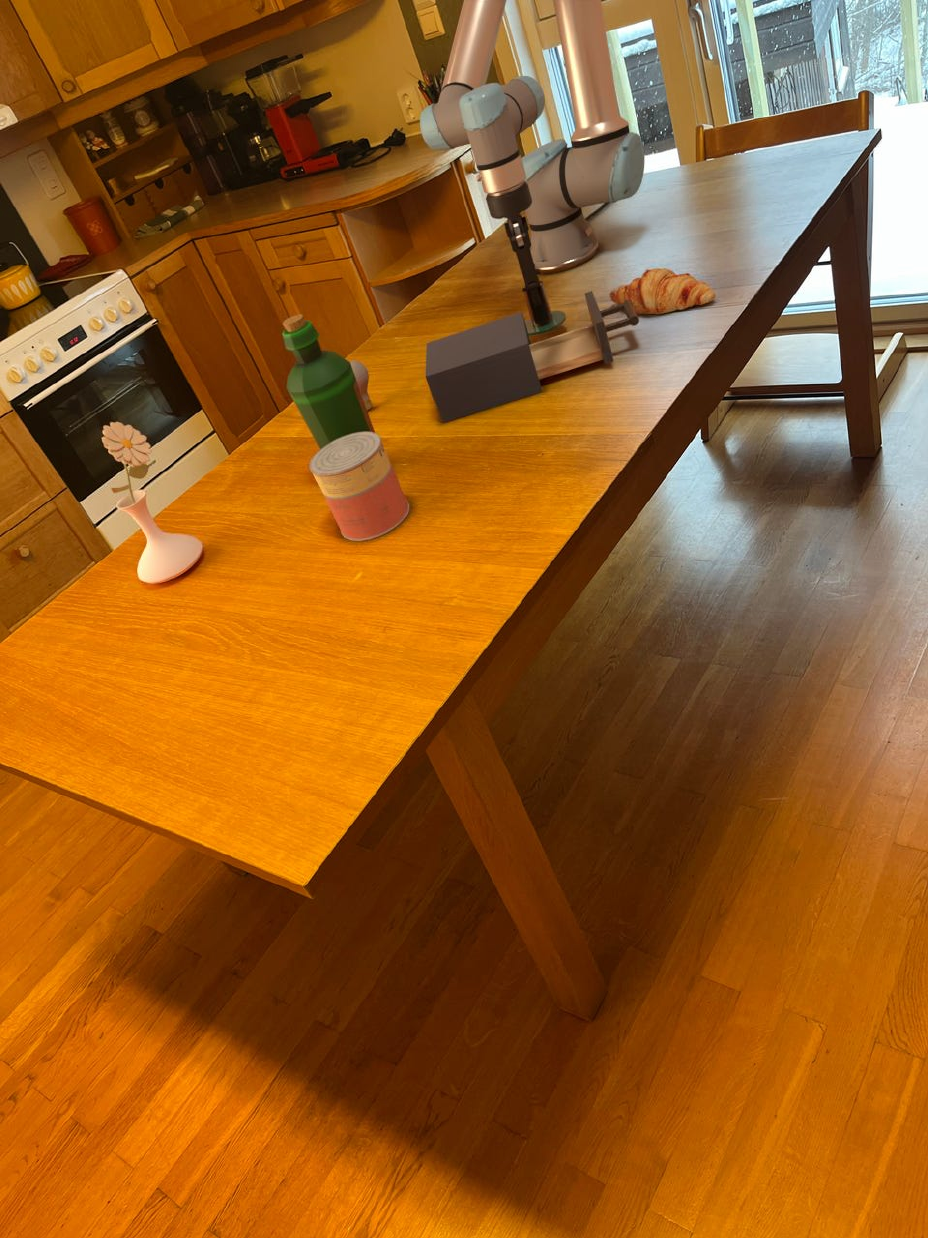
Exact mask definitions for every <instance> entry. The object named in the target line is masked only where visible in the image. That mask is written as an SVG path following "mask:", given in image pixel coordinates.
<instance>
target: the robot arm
mask: <svg viewBox="0 0 928 1238" xmlns="http://www.w3.org/2000/svg"><path fill="white" fill-rule="evenodd" d="M552 2H553V8H554V12H555V18H556V23H557V28H558V29H557V30H558V35H559V40H560V46H561V50H562V52H561V53H562V56H563V63H564V68H565V72H566V79H567V83H568V84H567V85H568V89H569V96H570V102H571V106H572V113H573V117H574V122H575V129H574V132H573V133H572V135H571V137H570V144H571V146H570V147H568V143H567V141H566V140H565V139H563V138H559V139H556V140H555V139H554V140H552V141H550V142H548V143H545V144H543V145H541V146H539V147H536V148H535V149H533V150H532V151H530V152H528V153H527V154H525V155H523V156H521V153H520V150H519V146H518V142H517V139H516V138H517V137H518V136H519V135H521V134H522V133H523V132H524V131H526V130H527V129H529V128H530V127H532V126H533V125H534V124H535V123H536V121H538V119H539V118H540V117H541V116H542V114H543V112H544V110H545V105H546V98H545V92H544V90H543V88H542V86H541V84H540V83H539V82H538V81H537V80H536V79H535V78H533V77H531V76H529V75H521V76H518V77H516V78H512V79H511V80H509V81H508V82H507V83H505V84H502V85H501V84H500V83H498V82H490V83H487V81H488V76H489V73H490V70H491V69H490V68H491V65H492V60H493V56H494V52H495V48H496V45H497V40H498V38H499V37H498V36H499V32H500V29H501V25H502V20H503V17H504V12H505V8H506V5H507V0H463V3H462V7H461V12H460V15H459V19H458V21H457V22H458V23H457V27H456V31H455V35H454V38H453V39H454V40H453V42H452V46H451V51H450V54H449V58H448V63H447V66H446V70H445V74H444V78H443V82H442V86H441V89H440V94H439V98H438V100H437V102H436V103H435V102H434V103H431V104H430V105H428V106H426V107H425V108H424V109H423V110H422V111H421V113H420V117H419V127H420V128H419V129H420V133H421V136H422V138H423V141H424V142H425V144H426V145H427V146H428V148H430V149H431V150H433V151H437V152H438V151H446V150H447V151H448V150H455V149H456V148H459V147H464V146H467V145H470V148H471V151H472V155H473V158H474V161H475V165H476V169H477V172H478V175H477V176H476V178H475V180H476V182H478V183H479V182H481V186H482V189H483V192H484V194H487V195H486V197H485V201H486V204H487V209H488V210H489V215H490V217H491V218H492V219H495V220H502V219H507V222H504V223H503V225H504V230H505V233H506V237H507V238H508V239H509V242H510V246H511V249H512V252H513V253H515V254H516V258H517V261H518V265H519V268H520V272H521V275H522V279H523V283H524V286H525V287H524V286H523V287H524V288H523V287H522V288H521V291H522V293H523V292H525V291H526V292H527V296H528V299H529V303H530V306H531V310H532V313H533V317H534V320H535V324H537V323H540V322H543V321H546V320H549V315H548V311H547V308H546V304H545V300H544V297H543V293H542V289H541V286H540V282H539V281H540V278H539V275H540V274H544V275H546V274H554V273H559V272H563V271H567V270H571V269H573V268H575V267H578V266H580V265H582V264H584V263H586V262H588V261H589V260H591V259H592V258H593V257H595V256H596V255H597V254H598V253H599V251H600V246H599V240H598V239H597V237H596V235H595V233H594V230H593V229H592V227H591V225H590V224H589V223H588V221H589V220H590V219H592V218H593V217H594V216H595V215H597V214H598V213H600V212H601V211H602V210H604V209H605V208H606V207H607V206H609V204H610V203H613V204H614V203H617V202H618V201H619V202H620V201H624V200H627V199H630V198H632V197H634V195H636V193H637V192H638V191H639V189H640V187H641V184H642V181H643V178H644V174H645V173H644V171H645V161H646V160H645V147H644V143H643V140H642V137H641V136H640V134H638V133H637V132H632V131H630V126H629V125H630V124H629V121H628V120H627V119H625V118H623V117H622V116H621V114H620V112H619V106H618V105H619V104H618V99H617V92H616V86H615V80H614V74H613V68H612V61H611V54H610V48H609V42H608V36H607V35H608V34H607V29H606V22H605V18H604V17H605V15H604V10H603V4H602V0H552ZM595 205H596V206H597V205H601V206H599V207H598V208H597V209H595V210H594V211H593V212H591V213H589V215H587V216H586V217H585V216H584V214H583V210H582V208H586V207H591V206H595ZM524 211H525V215H526V216H522V214H521V213H522V212H524ZM529 231H530V233H529ZM529 234H530V235H529Z"/></svg>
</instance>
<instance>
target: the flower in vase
mask: <svg viewBox="0 0 928 1238" xmlns="http://www.w3.org/2000/svg"><path fill="white" fill-rule="evenodd" d="M102 434H103V436H102V437H101V441H102V443H103V447H104V448H105V449H107V450H108V451H107V452H108V453H109V454H110V455H112V456H113V457H114V460H115V461H116V462H119V463H120V462H121V463H122V464H123V466H124V467H123V468H124V469H125V470H124V471H125V474H126V478H127V484H126V485H123V486H120V487H111V489H110V490H111V492H112V493H113V494H118V493H120V492H124V491H127V490H129V493H127V494H126V495H124V496H122V497H121V498H120V499H119V500H118V501H117V502H116V505H115V508H116V509H118V510H121V511H123V512H125V513H127V514H128V515H129V516H130V517H131V518H133V520H134V521H135V522H136V524H138V525H139V527H140V528H141V530H142V532H143V533H144V535H145V537H146V545H145V548H144V550H143V551H142V553H141V557H140V558H139V561H138V564H137V577H138V579H139V581H142V582H145V583H147V584H151V585H152V584H161V583H164V582H168V581H170V580H173V579H175V578H177V577H179V576H181V575H182V574H184V573H185V572H187V571H189V569H191V568H192V567H193V566H194V565H195V564H196V563H197V562H198V561H199V559H200V558H201V556H202V553H203V548H204V547H203V543H202V541H201V540H200V539H199V538H197V537H196V536H193V535H190V534H183V533H169V532H165V531H163V530H162V529H161V528H160V527H159V526H158V524H157V523H156V522H155V520H154V519H153V517H152V514H151V513H150V510H149V509H148V506H147V505H148V504H147V499H146V498H147V491H146V490H145V489H137V490H136V489H135V490H134V491H133V490H132V489H133V488H132V483H131V478H133V479H139V480H142V479H144V478H145V477H146V475H147V474H148V472H149V466H150V465H148V464H147V462H148V463H149V462H150V461H151V459H150V456H149V455H150V454H152V449H150V448H151V447H152V446H151V444H150V443H149V442H147V439H148V438H147V436H145V435H144V434H142V433H141V431H140V430H139V429H138V430H137V429H135V428H134V427H133V426H132V425H131V424H126V425H125V424H123V423H122V422H119V421H115V422H113V421H110V422H109V425H107V424H105V425H103V429H102ZM148 454H149V455H148ZM127 465H128V466H129V470H128V466H127ZM130 477H131V478H130Z"/></svg>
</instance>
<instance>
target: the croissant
mask: <svg viewBox="0 0 928 1238" xmlns="http://www.w3.org/2000/svg"><path fill="white" fill-rule="evenodd" d="M609 298H610V300H611V301H612V302H613V304H617V305H620V304H622V303H623V302H624V301H625V300H629V301H630V302H631V303H632V305H633V308H634V310H635V312H636V314H637V315H638V314H640V315H661V314H666V313H671V312H674V311H678V310H680V311H681V310H685V309H687V308H692V307H693V306H695V305H697V306H702V305H705V304H708V303H710V302H712V301H713V300H714V299H715V298H716V291H715V290H714V289H713V288H712V287H711V286H710V285H708V283H706V282H704V281H699V280H698V279H697V278H696V277H694V275H693V276H692V275H691V274H690V273H689V272H685V273H681V274H680V273H679V274H676V273H675V272H674V271H673V270H671V269H668V268H663V267H662V268H658V267H657V268H652V269H646V270H645V271H644V272H643V273H642V275H641V276H640V277H636V278H633V280H632V281H631V282H630V284H624V285H621V286H620V287H618V289H614V290H612V291H610V292H609Z"/></svg>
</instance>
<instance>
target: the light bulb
mask: <svg viewBox="0 0 928 1238" xmlns="http://www.w3.org/2000/svg"><path fill="white" fill-rule="evenodd" d="M348 361H349V362H350V364H351V367H352V370H353V372H354V375H355V378H356V381H357V383H358V386H359V389H360V392H361V395H362V397H363V400H364V403H365V406H366V408H367V411H368V412H369V411H371V409H372V408H373V404H372V402H371V399H370V398H371V397H370V395H369V392H368V388H369V380H370V374H369V371H368V368H367V367H366V366H365V364H364V363H362V362H360V361H358V360H348Z"/></svg>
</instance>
